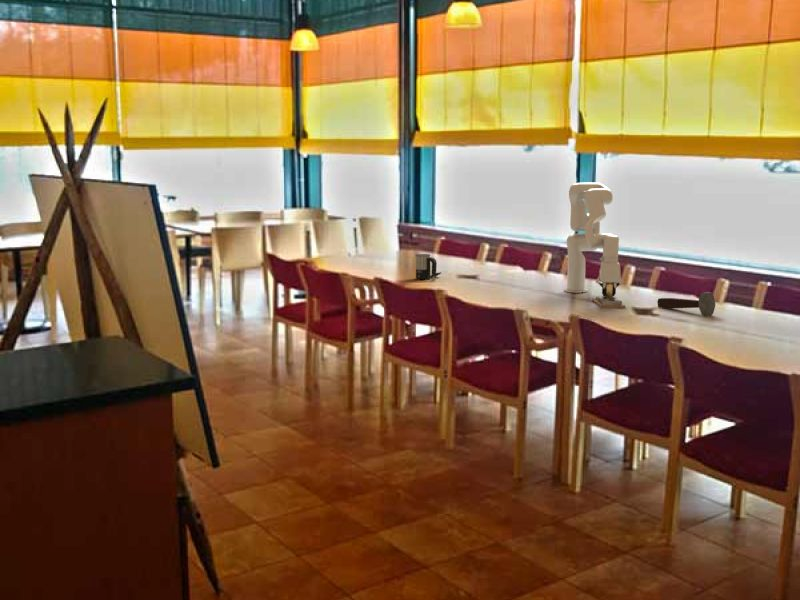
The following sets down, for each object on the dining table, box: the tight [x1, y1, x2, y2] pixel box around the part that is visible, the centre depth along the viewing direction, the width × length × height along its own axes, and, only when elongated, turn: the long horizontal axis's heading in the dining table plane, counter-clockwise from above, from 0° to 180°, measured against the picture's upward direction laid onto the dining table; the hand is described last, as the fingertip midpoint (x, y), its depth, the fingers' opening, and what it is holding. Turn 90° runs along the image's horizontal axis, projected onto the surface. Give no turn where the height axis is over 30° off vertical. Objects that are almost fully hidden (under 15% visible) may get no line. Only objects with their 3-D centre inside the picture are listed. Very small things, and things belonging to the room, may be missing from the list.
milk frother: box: [414, 253, 442, 280], centre depth 516 cm, size 14×16×15 cm
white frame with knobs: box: [591, 295, 626, 309], centre depth 435 cm, size 20×12×4 cm, turn 0°
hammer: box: [657, 291, 716, 317], centre depth 416 cm, size 5×11×30 cm
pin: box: [605, 283, 613, 299], centre depth 434 cm, size 4×4×9 cm
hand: (608, 295), depth 435 cm, fingers closed on pin, 3 cm apart
